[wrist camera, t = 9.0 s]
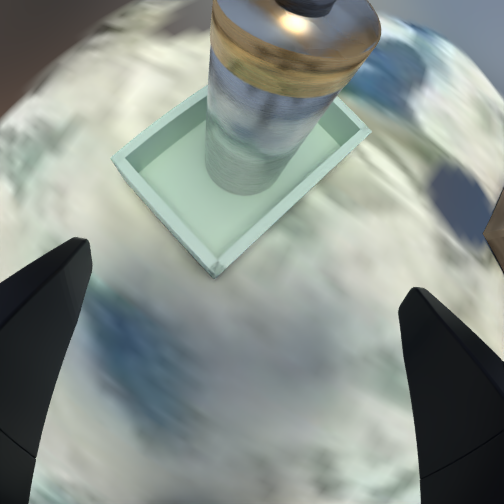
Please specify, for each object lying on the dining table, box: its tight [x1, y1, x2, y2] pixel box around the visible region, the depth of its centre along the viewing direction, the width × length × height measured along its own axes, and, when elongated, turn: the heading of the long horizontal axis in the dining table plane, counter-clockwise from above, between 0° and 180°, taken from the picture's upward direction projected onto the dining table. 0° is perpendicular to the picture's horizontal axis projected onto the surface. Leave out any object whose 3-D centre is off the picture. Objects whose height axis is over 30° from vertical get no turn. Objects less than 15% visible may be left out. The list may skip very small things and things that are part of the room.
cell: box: [205, 0, 381, 196], centre depth 13 cm, size 5×5×14 cm
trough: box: [111, 85, 372, 279], centre depth 19 cm, size 13×9×4 cm, turn 134°
